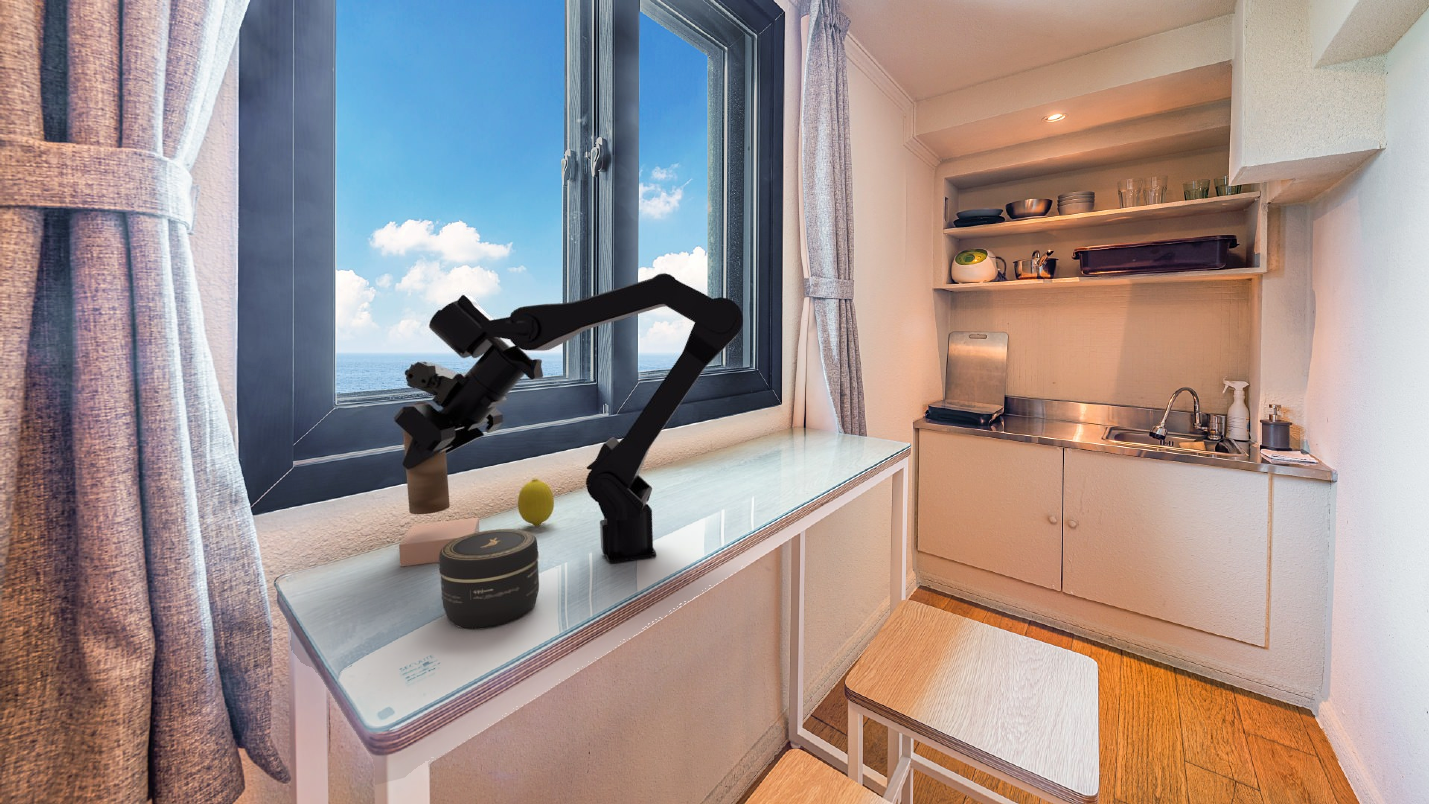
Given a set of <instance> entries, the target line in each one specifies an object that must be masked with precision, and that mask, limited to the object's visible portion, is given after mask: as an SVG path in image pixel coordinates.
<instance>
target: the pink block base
mask: <svg viewBox="0 0 1429 804" xmlns="http://www.w3.org/2000/svg"><path fill="white" fill-rule="evenodd" d="M477 532H480V518H479V517H469V518H461V519H453V520H445V521H444V520H443V521H434V522H426V523H425V522H424V523H417V524H412V525H411V527H410V529H409V530H408V531H407V532H406V533H405V535H404V536H403V539H402V540H401V541H400V543H399V544H398V549H399V550H398V551H399V565H400V568H401V567H409V566H416V565H423V564H430V563H431V564H432V563H439V554H440V551H441V549H442V548H443V547H444V546H445V545H446V544H447V543H449V542H451V541H453V540H455V539H457V538H460V537H463V536H466V535H469V534H473V533H477Z"/></svg>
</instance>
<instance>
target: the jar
mask: <svg viewBox="0 0 1429 804" xmlns="http://www.w3.org/2000/svg"><path fill="white" fill-rule="evenodd" d="M538 547H539V546H538V539H537V537H536V535H535V534H533V533H532V532H530V531H527V530H524V529H515V528H513V529H512V528H501V529H498V528H497V529H490V530H483V531H479V532H477V533H473V534H469V535H466V536H463V537H460V538H457V539H455V540H453V541H451V542H449V543H447V544H446V545H445V546H444V547H443V548H442V549H441V551H440V554H439V562H438V563H439V565H438V567H439V568H438V571H439V572H438V573H439V576H440V585H441V598H442V599H441V601H442V606H443V607H442V608H443V609H444V612H445V616H446V617H447V619H448V621H449V622H450V623H452V624H453V625H454V626H456V627H458V628H461V629H467V630H485V629H487V630H488V629H492V628H496V627H501V626H504V625H507V624H510V623H513V622H515V621H517V620H519V619H521V618H522V617H524V616H526V615H527V614H528V613H530V611H531V610H532V609H533V607H534V606H535V604H536V602H537V600H538V596H539V595H538V594H539V590H540V579H539V578H540V577H539V574H540V573H539V558H540V554H539V549H538Z"/></svg>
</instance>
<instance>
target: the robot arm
mask: <svg viewBox="0 0 1429 804" xmlns="http://www.w3.org/2000/svg"><path fill="white" fill-rule="evenodd" d="M739 306H740V305H738V304H737V303H736V302H735V301H733V300H732V299H729V298H728V297H720V296H719V297H715V298H712V297H711V296H709V295H707V294H705V293H703V292H702V291H699V290H698V289H695V288H694V287H691V286H689V285H688V284H685V283H683V282H681V281H679V280H678V279H676V277H674V276H673V275H671V274H670V273H665V272H664V273H658V274H657V275H655V276H653V277H651V278H648V279H645V280H641V281H637V282H636V283H635V282H634V283H632V284H628V285H624V286H622V287H618V288H615V289H612V290H609V291H605V292H602V293H599V294H596V295H592V296H587V297H585V298H581V299H579V300H575V301H570V302H559V303H558V302H557V303H543V304H535V305H525V306H520V307H518V308H516V309H514V310H513V311H512V312H510V315H509V316H507V317H501V318H493V317H492V316H491V315H489V314H488V313H487V312H486V311H485V310H484V309H483V308H482V307H481V306H480V305H479V303H478V302H477V301H476V300H475V299H474V298H473V297H472V296H471V295H466V294H462V295H461V296H460V297H459V298H458V299H457V300H455V301H452V302H450V303H448V304H446V305H445V306H444V307H443V308H442V309H438V310H436V312H435V313H434V315H432V317H431V319H430V321H429V324H428V328H429V329H430V330H431V331H432V332H433V333H434V334H435V335H436V336H437V337H438V338H440V339H441V340H442V341H443V342H444V343H445V344H446V345H447V346H448V347H450V349H451V350H453V352H454V353H456V354H457V355H458V356H459V357H460V358H462V359H466V358H469V357H472V358H473V359H477V358H479V359H478V360H476V362H475V363H474V365H473V366H472V367H470V369H469V370H468V371H467V372H459V373H458V372H455V371H454V370H450V369H448V368H446V367H443V366H442V365H439V364H436V363H435V362H434V363H433V362H427V361H424V360H423V361H417V362H415V363H412V364H410V366H409V368H408V369H406V370H405V371H404V375H405V376H406V377H405V380H406V385H407V386H408V387H410V388H411V389H418V390H420V391H422V392H425V393H426V394H430V395H432V396H434V397H433V398H432V400H431V401H433V402H434V404H436V405H437V406H438V407H441V409H439V410H437V409H436V408H435V407H434V408H433V407H432V406H431V405H430V404H431V403H430V404H417V405H414V404H410V405H406V406H405V405H404V406H403V407H401V408H400V410H399V411H398V412H397V414H395V416H393V419H394V422H395V423H396V424H397V425H398V426H399V427H400V428H402V430H403V429H404V430H405V431H406V432H407V433H408V434H409V435H410V436H412V440H411V443H410V446H409V448H408V451H407V453H406V456H405V455H404V459H403V461H402V463H401V464H402V467H404V469H405V470H406V469H411V468H413V467H415V466H417V465H419V464H421V463H422V462H424V461H426V460H428V459H430V458H432V457H434V456H435V455H437V454H439V453H441V452H443V451H445V450H446V455H447V454H449V453H451V452H453V451H455V450H458V449H460V448H461V447H463V446H466V445H467V444H469V443H471V442H473V441H475V440H478V439H480V438H483V437H484V436H485V433H484V432H483V431H482V430H481V429H480V427H484V426H485V425H486V424H487V426H485V430H484V431H485V432H486V433H487V434H490V433H494V432H495V431H497V430H498V429H499V428H500V426H501V425H502V424H504V419H503V418H504V416H503V415H504V414H503V412H501V410H498V409H497V407H499V406H503V405H504V404H505V402H506V401H507V400H508V399H507V397H506V396H507V394H509V392H510V391H511V390H512V389H513V388H514V387H515V386H516V385H517V384H518V382H519V381H520V380H521V379H522V378H523V377H524V376H527V378H528V379H530V380H539V379H543V378H544V374H543V373H544V372H543V368H542V363H543V360H542V359H541V358H534V359H532V358H531V357H530V356H529V355H528V354H527V353H526V352H525V351H531V352H532V351H538V352H539V351H541V352H542V351H549V350H552V349H554V348H556V347H558V346H560V345H562V344H565V343H566V342H568V341H570V340H571V339H573V338H574V337H576V336H577V335H580V334H581V333H583V332H584V331H587V330H588V329H590V330H591V329H593V328H595V327H596V328H597V327H599V326H602V325H605V324H610V323H613V322H616V321H620V320H623V319H626V318H629V317H633V316H637V315H640V314H642V313H647V312H650V311H652V310H656V309H659V308H665V307H667V308H669V309H670V310H672V311H674V312H676V313H678V314H679V315H681V316H683V317H685V318H687V319H688V320H689V321H691V322H693V323H694V324H693V326H692V329H691V330H690V332H689V335H688V337H687V339H686V343H685V345H684V347H683V348H684V349H683V350H682V353H681V354H680V355H679V357H678V359H677V360H676V361H675V363H674V364H673V365H672V367H671V368H670V370H669V372H668V373H667V374H666V376H665V378H664V379H663V380H662V382H661V383H660V385H659V386H658V388H657V389H656V391H655V392H654V393H653V395H652V397H650V399H649V401H648V403H647V404H645V405H646V406H645V407H644V408H643V410H642V411H641V412H640V414H639V416H638V417H637V418H636V420H635V421H634V422H633V425H632V426H631V427H630V429H628V432H626V435H625V436H624V437H623V438H622V439H621V440H620V441H619V440H618V439H617V438H615V436H613V437H611V438H609V439H608V440H607V441H605V442H603V444H602V446H601V447H600V450H599V451H598V454H597V455H596V458H595V459H594V461H592V462H591V463H590V464H589V465H588V466H586V470H589V472H588V475H587V477H586V479H585V485H586V489H587V493H588V494H589V496H590V498H592V499H593V500H594V501H595V502H596V503H598V506H599V508H600V512H601V514H602V516H603V519H601V520H600V521H599V529H600V530H599V532H600V533H599V534H600V535H599V536H600V548H601V549H600V550H601V552H602V554H603V555H605V556H606V559H607V561H608V563H610V564H611V563H613V564H614V563H619V562H625V561H627V562H628V561H634V560H642V559H647V558H653V557H656V556H657V551H656V550H655V548H654V539H653V537H654V535H653V534H654V532H653V509H652V508H651V507H650V505H649V504H648V502H649V500H650V498H651V493H652V492H653V487H652V486H651V485H650V484H649V483H648V482H647V481H645V479H643V477H641V476H640V475H639V474H640V471H641V470H642V468H643V466H644V463H645V461H646V458H647V455H648V454H649V451H650V450H651V447H652V446H653V443H655V441H656V440H657V438H658V436H659V435H660V434H661V432H662V431H663V429H664V428H665V427H666V425H667V423H669V421H670V419H671V418H672V416H673V415H674V413H676V410H678V407H679V406H680V405H681V403H682V402H683V400H684V399H685V397H686V396H687V394H688V393H689V391H690V390H691V389H692V387H693V386H694V384H695V383H696V381H697V380H698V379H699V377H700V376H701V374H702V373H703V371H704V370H705V368H707V366H708V365H710V364H711V362H712V361H714V359H715V358H716V357H717V356H718V355H719V354H721V352H722V351H724V350H725V348H726V347H727V346H728V345H729V344H731V342H733V340H734V339H735V338H736V337H737V336H738V335H739V333H740V331H741V330H742V327H743V323H744V319H743V318H744V317H743V311H742V310H741V308H740V307H739ZM504 339H506V340H510V342H511V343H512V344H513V346H510V345H508V344H507V343H506V342H505V341H504Z"/></svg>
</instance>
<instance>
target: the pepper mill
mask: <svg viewBox="0 0 1429 804" xmlns="http://www.w3.org/2000/svg"><path fill="white" fill-rule="evenodd" d="M417 404H430V405H431V406H432V407H433V408H435V407H434V405H433V404H432V403H430V402H428V401H422V400H421V401H418V402H415V403H413V405H417ZM402 433H403V447H404V449H403V450H404V457H405V456H406V453H407V451H408V448H409V446H410V443H411V440H412V436H410V435H409V434H408V433H407V432H406V431H405V430H404V429H403V428H402ZM405 472H406V484H407V485H406V487H407V498H408V499H407V500H408V508H409V509H408V511H409V513H410V514H412V515H428V514H430V515H431V514H434V513H439V512H443V511H446V510H448V509H449V508H450V494H449V493H450V490H449V478H448V462H447V454H446V450H445V451H443V452H441V453H439V454H437V455H435V456H434V457H432V458H430V459H428V460H426V461H424V462H422V463H421V464H419V465H417V466H415V467H413V468H411V469H406V468H405Z"/></svg>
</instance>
